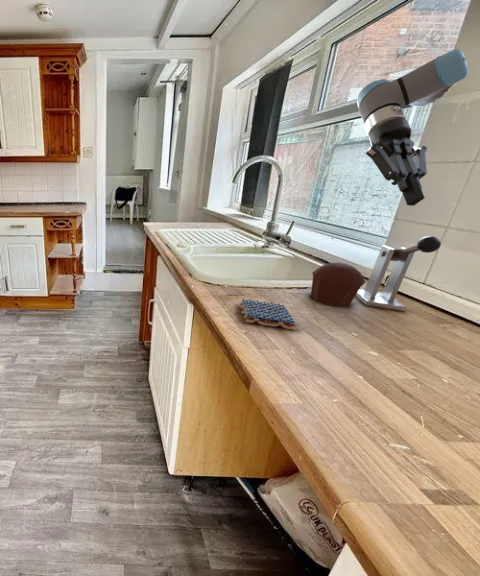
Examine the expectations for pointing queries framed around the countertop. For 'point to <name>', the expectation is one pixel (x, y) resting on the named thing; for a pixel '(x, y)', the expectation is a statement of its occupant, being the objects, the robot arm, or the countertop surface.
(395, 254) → the arm
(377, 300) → the silver metal stand
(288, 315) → the woven mat
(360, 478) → the countertop surface
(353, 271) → the muffin
